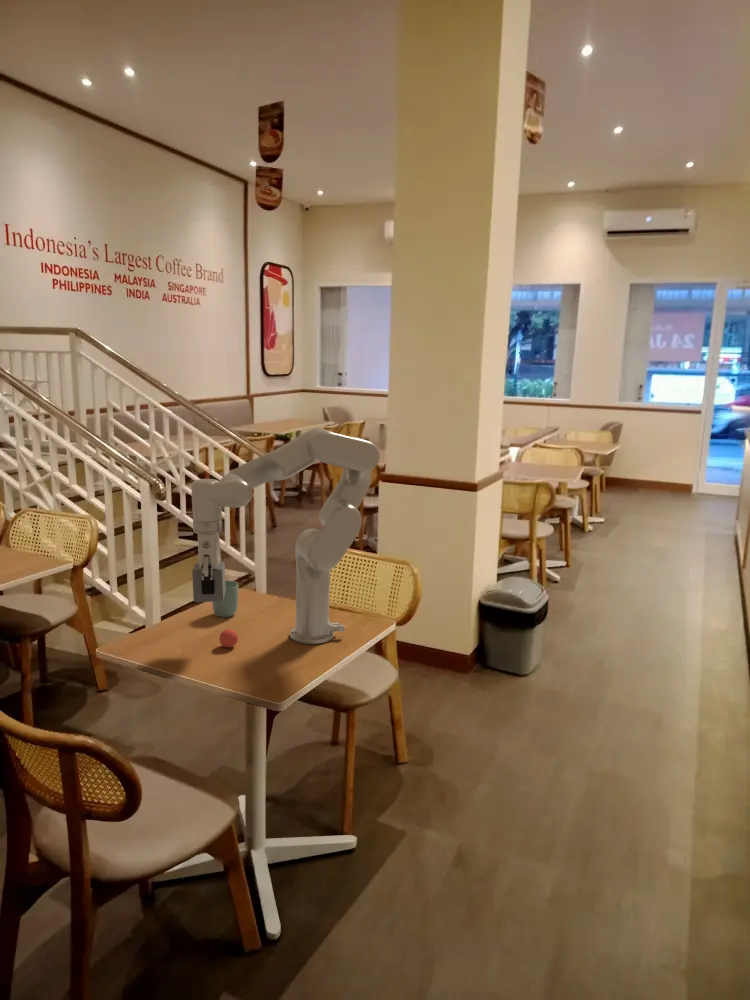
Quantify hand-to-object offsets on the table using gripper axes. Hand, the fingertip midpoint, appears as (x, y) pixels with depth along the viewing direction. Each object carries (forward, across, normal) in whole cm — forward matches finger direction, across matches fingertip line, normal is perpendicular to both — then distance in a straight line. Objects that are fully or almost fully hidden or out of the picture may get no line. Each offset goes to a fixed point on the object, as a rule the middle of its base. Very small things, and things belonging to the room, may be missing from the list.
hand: (210, 588), depth 192 cm
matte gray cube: (+2, 0, 0) cm, 2 cm away
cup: (+17, +25, -1) cm, 30 cm away
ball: (+14, 0, -5) cm, 15 cm away
